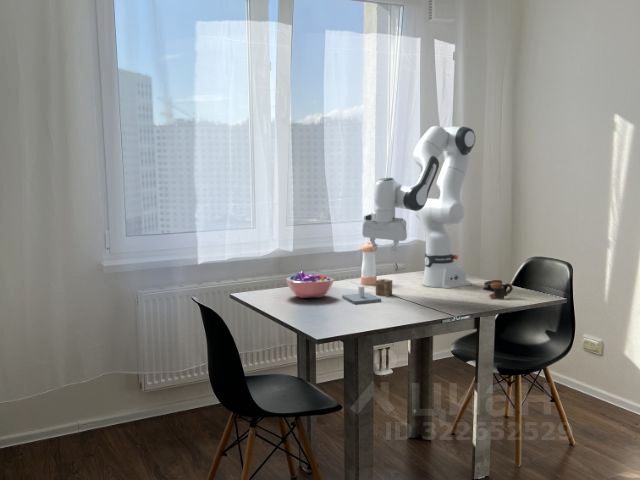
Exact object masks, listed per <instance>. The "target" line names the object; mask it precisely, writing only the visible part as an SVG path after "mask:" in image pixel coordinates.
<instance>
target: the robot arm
mask: <svg viewBox="0 0 640 480" xmlns="http://www.w3.org/2000/svg"><path fill="white" fill-rule="evenodd" d="M475 143H476V135H475V132H474V130H473V128H470V127H468V126H456V125H455V126H454V125H452V126H442V127H441V126H440V125H439V126H438V125H434V126H430V128H428V130H426V132H425V133H424V134H423V135H422V136H421V138H420V139H419V141H418V143H417V144H416V146H415V148H414V151H413V154H412V155H413V160H414V162H415V163H416V165H418V167H420V168H421V169H422V171H421V173H420V176H419V178H418V180H417V183H416V184H414V185H402V184H400V183H398V182H397V181H396V180H395V179H394V177H382V178H379V179H377V180H376V182H375V185H374V186H375V187H374V193H373V194H374V195H373V197H374V199H373V200H374V208H373V209H374V210H373V212H371V213H369V214H365V215H364V216H363V224H362V236H363V238H368V239H369V241H370V243H371V244H372V248H373V249H376V250H377V249H378V244H377V243H376V242H375V240H376V239H380V240H389V241H393V246H390V251H393V252H396V251H397V247H398V245H399V243H400V242H403V241H406V240H407V238H408V233H407V232H408V231H407V221H406V220H405V219H404V218H403V217H396V208H397V209H405V210H411V211H413V212H414V213H415V216H416V218H417V219H418V220H419V221H420V223H421V226H422V228H423V231H424V235H425V236H424V237H425V253H424V273H423V278H422V281H421V285H422V286H427V287H432V288H443V289H451V288H452V289H453V288H459V287H463V286H470V285H472V281H470V280H468V279H467V275H466V271H465V269H464V268H462V267H461V266H460V265H459V264H458V263H456V262H455V260H458V259H459V255H457V254H453V253H451V252H452V251H451V249H452V246H451V245H452V237H451V235H450V234H449V233H448V232H447V231H446V229H445V226H444V225H449V226H450V225H456V224H459V223H461V221H463V219H464V217H465V208H464V207H465V206H463V203H461V202H462V201H461V198H460V197H461V195H460V194H461V189H462V186H463V184H464V183H463V182H464V180H465V178H466V174H467V171H468V167H469V164H470V154H469V153H471V151H472V149H473V147H474V146H475ZM443 152H446V157H445V160H444V162H443V164H442V166H441V170H440V172H439V175H438V177H437V180H436V187H437V189H438V190H439V191H440V194H439V197H438V198H431V197H430V198H429V197H428V196H429V193H430V191H431V188H432V186H433V183H434V181H435V178H436V176H437V174H438V171H439V168H440V161H439V160H440V156H441V155H442V154H443Z"/></svg>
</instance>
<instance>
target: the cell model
mask: <svg viewBox="0 0 640 480" xmlns="http://www.w3.org/2000/svg"><path fill="white" fill-rule="evenodd" d="M285 280H286V282H287V285H288V287H289V290H290V291H291V292H292V293H293V295H294V296H297V297H298V298H301V299H312V298H322V297H324V296H325V295H327V294H328V293H329V292H330V290H331V289H332V286H333V285H334V284H333V283H334V280H335V279H334V278H333V277H330V276H328V275H324V274H323V275H322V274H305V272H304V270H300V271H298V272H297V273H296V274H295V275H291V276H287V278H286V279H285Z"/></svg>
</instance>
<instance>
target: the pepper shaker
mask: <svg viewBox="0 0 640 480" xmlns="http://www.w3.org/2000/svg"><path fill="white" fill-rule="evenodd" d="M360 249H361V251H362V264H361V269H360V270H361V275H360V284H361V286H374V285H375V286H376V280H378V279H377V265H376V257H375V256H376V251H377V249H373V248H372V243H371V241H370V242H367V243H364V244H363V245H362V246H361V247H360Z"/></svg>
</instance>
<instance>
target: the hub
mask: <svg viewBox="0 0 640 480" xmlns="http://www.w3.org/2000/svg"><path fill="white" fill-rule="evenodd" d="M341 299H343V300H344V301H347V302H348V303H351V304H353V305H361V304H370V303H371V304H372V303H380V302H382V298H381V297H378V296H377V295H374V294H372V293H369V292H365V285H358V293H351V294H343V295H342V296H341Z"/></svg>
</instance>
